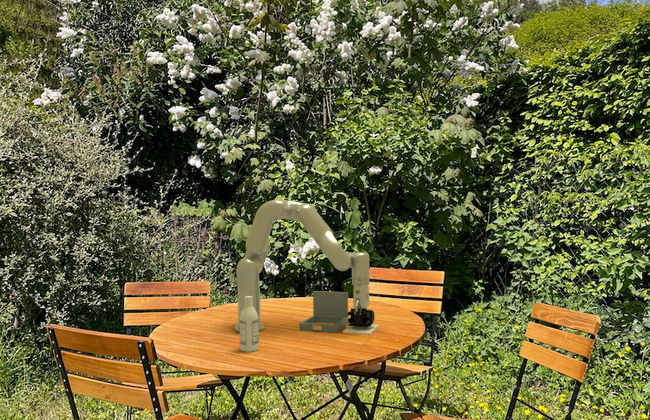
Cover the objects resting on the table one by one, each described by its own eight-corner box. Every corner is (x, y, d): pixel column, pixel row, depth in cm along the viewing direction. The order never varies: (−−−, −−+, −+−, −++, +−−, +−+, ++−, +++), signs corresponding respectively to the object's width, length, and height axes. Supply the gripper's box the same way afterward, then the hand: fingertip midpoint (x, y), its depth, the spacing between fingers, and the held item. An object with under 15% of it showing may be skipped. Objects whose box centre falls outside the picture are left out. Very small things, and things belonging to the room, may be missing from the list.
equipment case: (335, 332, 228) (335, 299, 228) (299, 330, 234) (298, 298, 233) (348, 323, 247) (347, 292, 246) (314, 321, 252) (313, 291, 252)
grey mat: (370, 334, 225) (370, 333, 225) (342, 332, 229) (342, 331, 229) (379, 326, 240) (379, 324, 240) (353, 324, 244) (353, 323, 244)
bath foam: (258, 346, 208) (258, 294, 207) (258, 351, 201) (257, 297, 201) (240, 347, 207) (239, 295, 207) (239, 352, 200) (238, 298, 200)
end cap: (374, 324, 235) (374, 309, 235) (368, 328, 229) (368, 312, 229) (353, 322, 240) (353, 307, 240) (346, 325, 233) (346, 310, 233)
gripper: (364, 284, 225) (364, 326, 225) (373, 278, 241) (374, 318, 241) (346, 283, 227) (346, 325, 227) (357, 278, 244) (357, 317, 244)
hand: (360, 321), depth 234 cm, fingers closed on end cap, 7 cm apart
